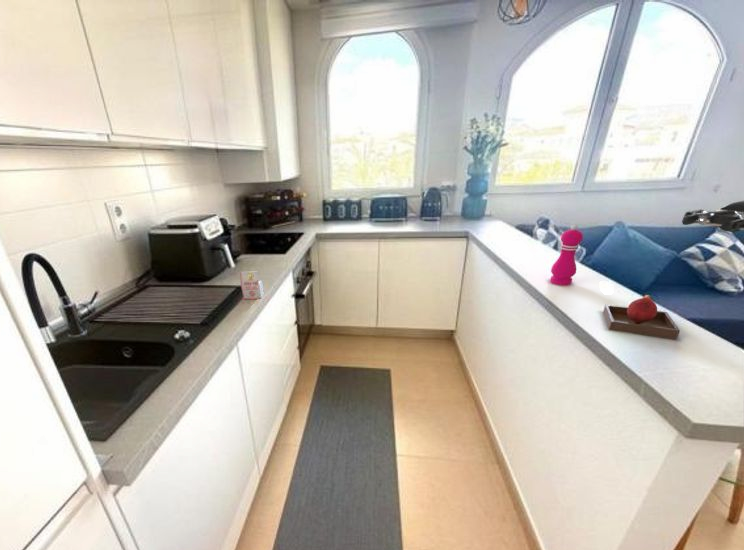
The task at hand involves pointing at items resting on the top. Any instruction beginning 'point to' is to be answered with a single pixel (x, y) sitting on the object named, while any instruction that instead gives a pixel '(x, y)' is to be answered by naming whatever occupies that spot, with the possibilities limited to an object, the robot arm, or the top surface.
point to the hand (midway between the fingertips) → (707, 223)
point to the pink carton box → (251, 285)
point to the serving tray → (654, 327)
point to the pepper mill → (566, 257)
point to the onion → (642, 310)
